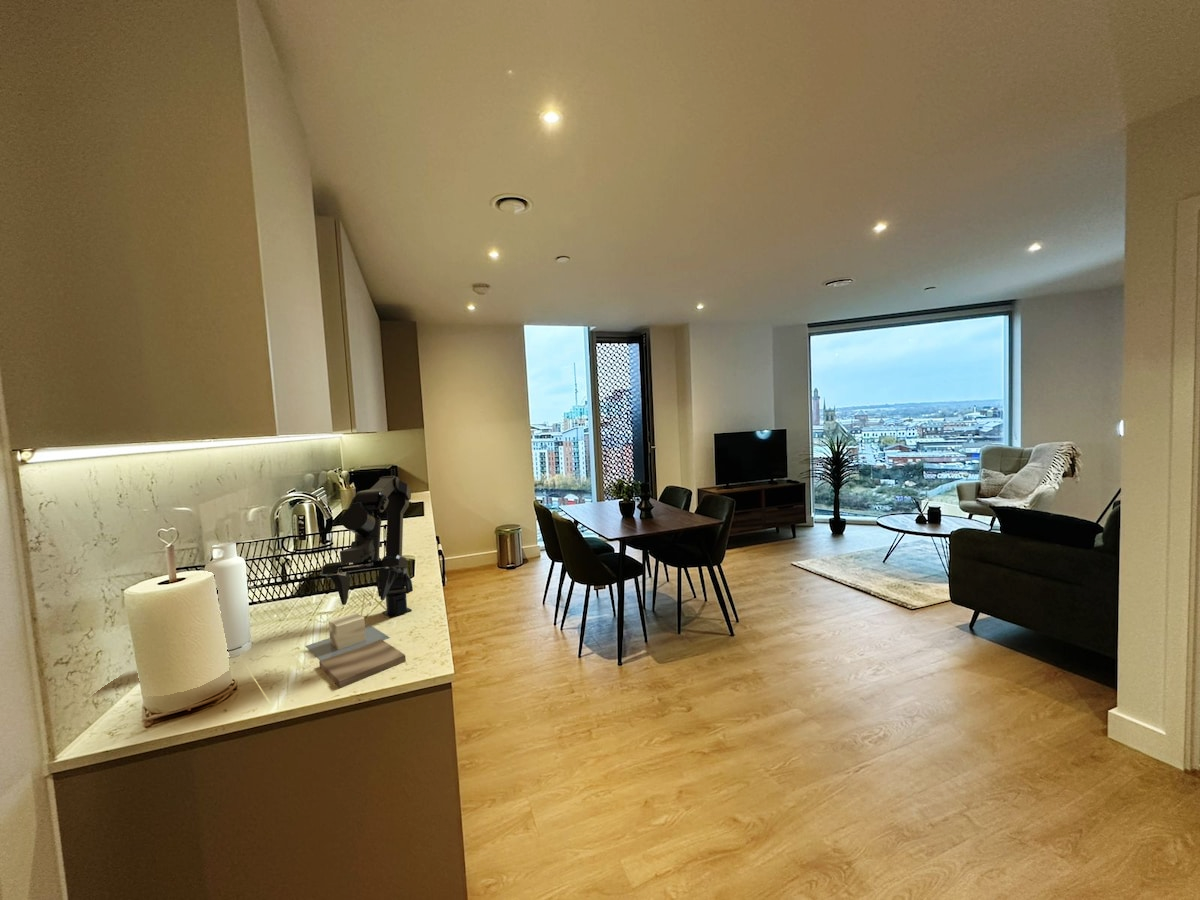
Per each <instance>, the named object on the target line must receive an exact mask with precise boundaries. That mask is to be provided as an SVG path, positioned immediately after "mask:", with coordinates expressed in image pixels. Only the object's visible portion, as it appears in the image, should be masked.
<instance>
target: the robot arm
mask: <svg viewBox="0 0 1200 900" xmlns="http://www.w3.org/2000/svg"><path fill="white" fill-rule="evenodd" d="M411 499H412V491H411V489H410V487H409V485H408V484H407V483H406V482H404V481H402V480H400V478H399V477H398V476H395V475H387V476H381V477H379V478H378V481H377V482H375V484H374V485H372V487H370V488H369V489H365V490H360V491H357V492H356V494H355V495H354V496H353V497H352V500H351V502H350V504H349V506H348V508H347V510H345V512H343V514H342V516H341V518H340V519H341V524H342V526H343V527H344V528H345V530H346V529H347V530H349V532H351V533H353V534H355V536H354V541H351V543H350V547H349V548H345V549H343V550H340V551H339V558H340V560H339V561H337V562H329V563H325V564H324V565H323V566H322V568H321V576H323V577H326V579H328V580H331V581H332V582H333V583H334V585H335V586H336V589H337V592H338V596H339V599H340V602H341V605H342V606H346V605H347V602H348V599H349V598H348V597H349V591H350V584H351V579H352V577H351V576H348V575H350V573H352V572H359V571H368V570H375V569H376V570H377V569H378V576H377V578H376V588H377V592H378V593H377V595H378V598H379V597H380V600H381V601H384V600H385V607H386V609H385V610H384V611H382V615H384V616H386V617H388V619H389V618H390V619H393V618H395V617H399V616H401V615H405V614H407V613H411V612H413V610H412V609H411V608H409V607H408V602H407V594H410V593H412V592H413V591H414V590H413V581H412V579H411V576H410V575H409V573H408V559H407V558H406V557H405V556H403V538H404V537H403V535H404V534H403V532H404V530H403V529H404V514H405V513H406V511H407V510H408V508H409V507H410V501H411ZM384 512H386V514H387V515H386V517H387V518H386V539H385V541H386V543H385V556H384V555H383V557H382V558H380V548H382V547H383V543H382V542H381V530H382V528H381V527H382V519H381V518H380V517H379V515H378V514H380V513H384ZM376 513H378V514H376Z"/></svg>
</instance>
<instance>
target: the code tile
mask: <svg viewBox="0 0 1200 900" xmlns="http://www.w3.org/2000/svg"><path fill="white" fill-rule="evenodd" d="M365 634H366V641H363V642H360V643H357V644H354V645H352V646H349V647H346V648H343V649H340V650H338V649H337V648H336V647H334V646H333V645H332V644H331V643H330V637H328V638H326V639H322V640H320V641H316V642H313V643H309V644H308V645H304V646H305V648H306V649H307V650H308V651H309V652H310V653H312V655H314V657H315V658H317V659H318V661H322V660H324V659H327V658H330V657H333V656H336V655H338V654H341V653H344V652H347V651H350V650H352V649H355V648H358V647H361V646H364V645H366V644H369V643H372V642H375V641H377V640H380V639H382V640H383V641H385V640H388V639H391V637H390V636H388V635H387V634H385V633H384V632H382V631H380V630H379V629H378V628H376V627H374V626H372V625H371V624H368V625H365Z"/></svg>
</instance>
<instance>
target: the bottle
mask: <svg viewBox="0 0 1200 900" xmlns="http://www.w3.org/2000/svg"><path fill="white" fill-rule="evenodd" d="M211 554H212V555H211V556H212V560H211V561H209V562H208V563H206V564H205V566H204V572H205V571H208V572H212V573H213V574H214V575H215V580H216V584H217V590H218V598H219V604H220V611H221V617H222V622H223V628H224V633H225V638H226V643H227V648H228V652H229V656H230V658H229V659H232V658H235V657H238V656H240V655H241V654H244V653H245V652H247V651H249V650H250V649H252V646H253V644H252V640H251V639H252V632H251V618H250V617H251V616H250V605H249V591H248V579H247V578H248V577H247V576H248V575H247V565H246V563H247V561H246V560H245V559H244V558H243V557H242V556H238V555H237V554H238V553H237V543H236V542H224V543H218V544H214V545H212V546H211Z"/></svg>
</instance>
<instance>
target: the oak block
mask: <svg viewBox="0 0 1200 900" xmlns="http://www.w3.org/2000/svg"><path fill="white" fill-rule="evenodd" d="M365 626H366V621H365V617H364V616H362V615H361V614H359V613H358V612H352V613H348V614H346V615H342V616H339V617H335V618H332V619H329V620H328V629H329V638H330V643H331V644H332V645H333V646H334V647H336V648H337V649H338V650H340V649H343V648H346V647H349V646H352V645H354V644H357V643H360V642H363V641H366V634H365Z"/></svg>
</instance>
